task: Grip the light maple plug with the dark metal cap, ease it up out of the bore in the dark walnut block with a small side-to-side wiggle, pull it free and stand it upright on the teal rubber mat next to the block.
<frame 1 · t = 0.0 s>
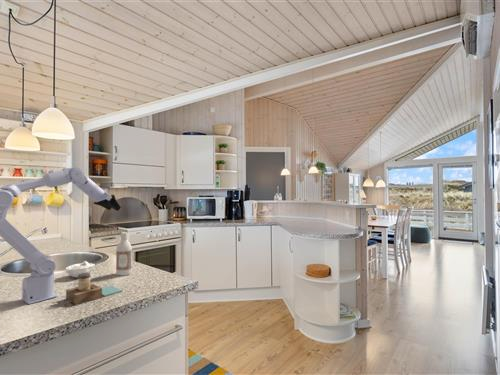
hand: (114, 208, 131), 32 cm above the countertop, tool tilted 50°, fingers open, 7 cm apart
maple plug: (84, 286, 108), in the walnut block
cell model: (80, 276, 135), on the countertop
walnut block: (84, 298, 108), on the countertop
teal mat: (108, 291, 115), on the countertop
bath foam: (124, 274, 140), on the countertop
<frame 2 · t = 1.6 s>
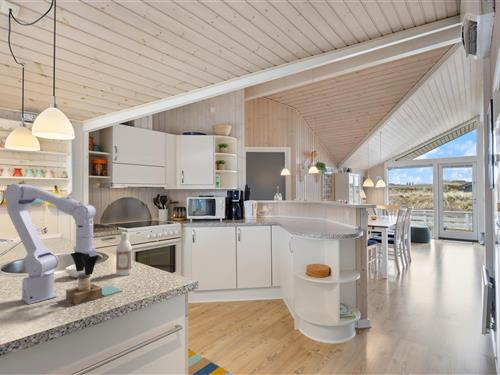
hand: (84, 272, 108), 10 cm above the countertop, tool pointing down, fingers open, 7 cm apart
nothing on the countertop moved.
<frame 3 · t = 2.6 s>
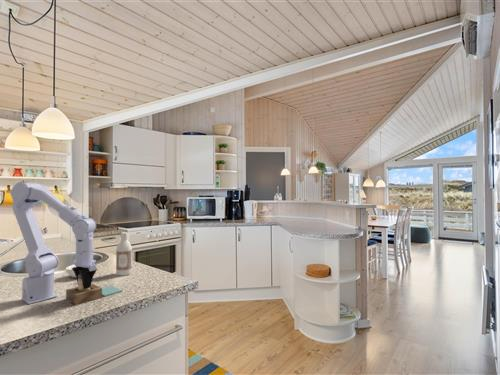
hand: (84, 286, 108), 4 cm above the countertop, tool pointing down, fingers closed on maple plug, 4 cm apart
maple plug: (84, 286, 108), in the walnut block, touching gripper
everything else where it was.
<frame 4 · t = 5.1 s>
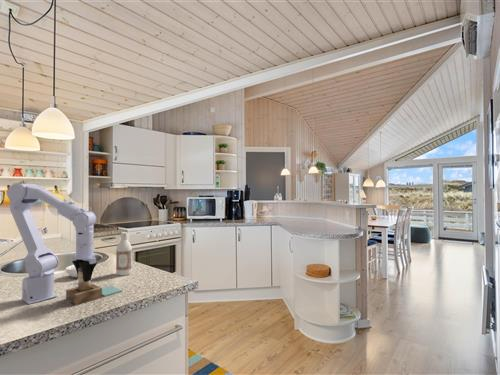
hand: (84, 279, 108), 7 cm above the countertop, tool pointing down, fingers closed on maple plug, 4 cm apart
maple plug: (84, 279, 108), point 7 cm above the countertop, touching gripper
everything else where it was.
when the fingers open (6 cm above the countertop, at t = 7.8 s): maple plug stays where it is, resting on teal mat.
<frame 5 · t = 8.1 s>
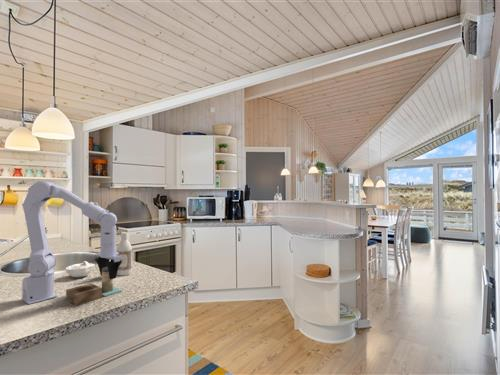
hand: (108, 276, 115), 6 cm above the countertop, tool pointing down, fingers open, 7 cm apart
maple plug: (107, 279, 115), on the teal mat
everything else where it was.
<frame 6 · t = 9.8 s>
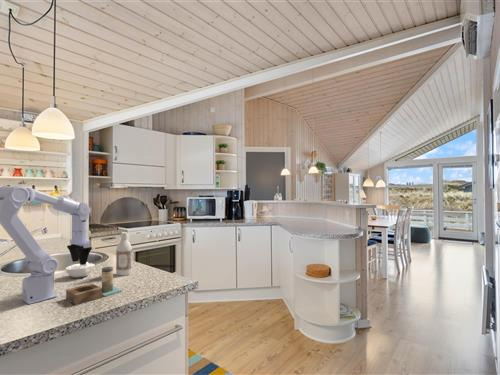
hand: (79, 262, 122), 10 cm above the countertop, tool pointing down, fingers open, 7 cm apart
nothing on the countertop moved.
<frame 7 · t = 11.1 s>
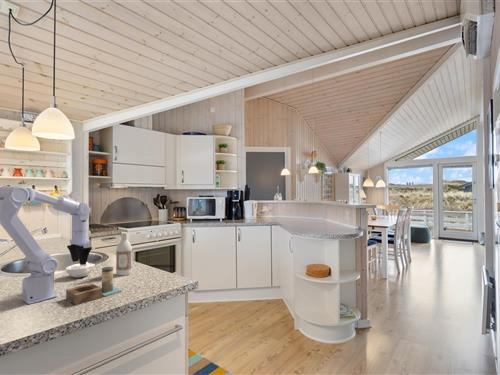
hand: (79, 262, 122), 10 cm above the countertop, tool pointing down, fingers open, 7 cm apart
nothing on the countertop moved.
at the end: maple plug 0.3 cm off-centre on the teal mat, point 5.0 cm above the teal mat's base; maple plug tilted 0°; the gripper is holding nothing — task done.
